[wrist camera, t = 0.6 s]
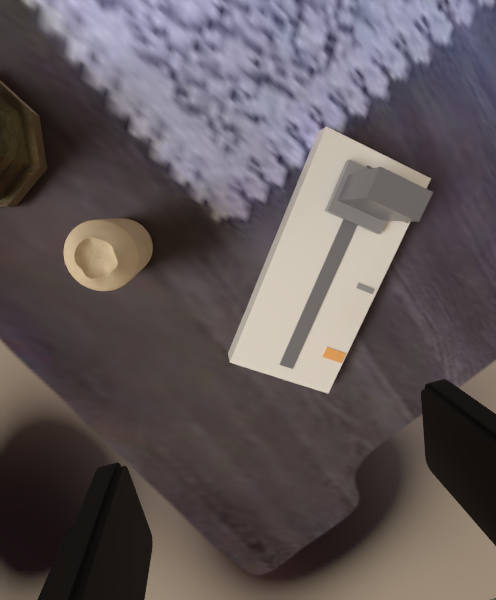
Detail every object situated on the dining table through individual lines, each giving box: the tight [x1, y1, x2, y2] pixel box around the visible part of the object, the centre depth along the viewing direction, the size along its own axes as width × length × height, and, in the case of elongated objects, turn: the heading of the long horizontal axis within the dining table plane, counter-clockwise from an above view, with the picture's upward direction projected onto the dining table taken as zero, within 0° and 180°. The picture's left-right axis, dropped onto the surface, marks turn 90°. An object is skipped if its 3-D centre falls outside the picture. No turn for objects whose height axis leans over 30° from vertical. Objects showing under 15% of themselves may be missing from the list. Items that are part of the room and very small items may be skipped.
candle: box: [64, 218, 153, 291], centre depth 30 cm, size 6×6×10 cm
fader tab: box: [325, 159, 433, 234], centre depth 30 cm, size 5×6×7 cm
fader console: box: [228, 127, 431, 393], centre depth 37 cm, size 25×12×3 cm, turn 158°
